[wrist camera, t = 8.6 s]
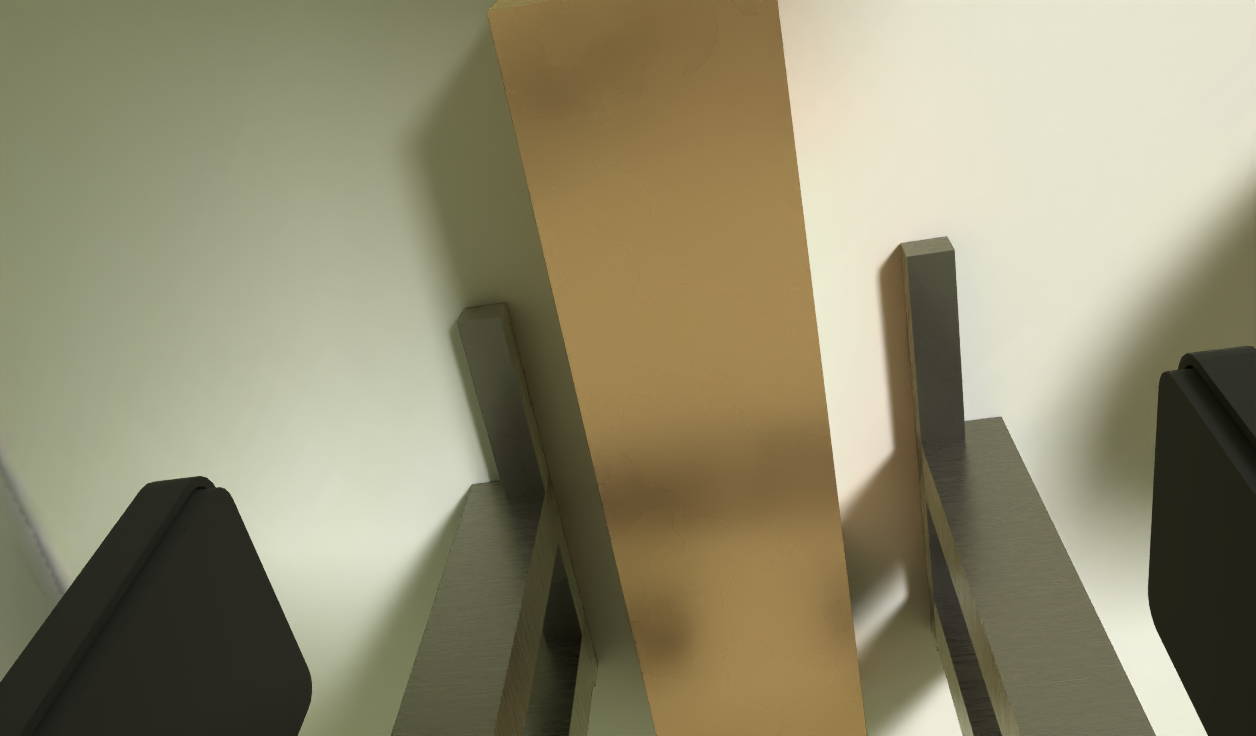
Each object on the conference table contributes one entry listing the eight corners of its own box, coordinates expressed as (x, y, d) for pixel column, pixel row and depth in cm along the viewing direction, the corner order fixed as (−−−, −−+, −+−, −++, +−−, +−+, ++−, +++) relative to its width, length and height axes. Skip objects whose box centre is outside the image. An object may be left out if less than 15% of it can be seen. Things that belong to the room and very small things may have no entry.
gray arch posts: (422, 314, 26) (247, 651, 16) (993, 229, 25) (1205, 544, 14) (527, 673, 31) (443, 1105, 21) (1009, 622, 29) (1176, 1066, 19)
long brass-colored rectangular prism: (531, -37, 23) (485, 12, 18) (756, -80, 22) (773, -42, 17) (689, 705, 31) (688, 875, 27) (853, 689, 31) (883, 859, 26)
